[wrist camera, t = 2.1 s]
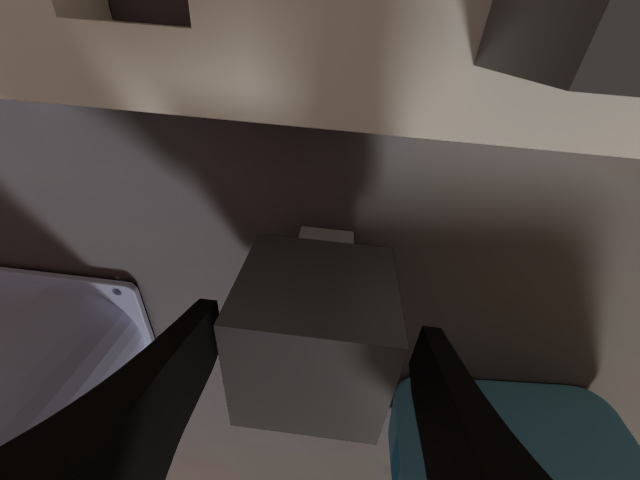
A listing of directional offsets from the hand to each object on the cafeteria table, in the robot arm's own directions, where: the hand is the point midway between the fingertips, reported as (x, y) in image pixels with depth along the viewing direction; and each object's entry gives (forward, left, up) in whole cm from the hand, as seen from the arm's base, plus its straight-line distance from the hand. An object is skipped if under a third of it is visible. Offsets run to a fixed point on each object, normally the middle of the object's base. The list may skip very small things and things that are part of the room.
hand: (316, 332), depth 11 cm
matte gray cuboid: (0, 0, -5) cm, 5 cm away
